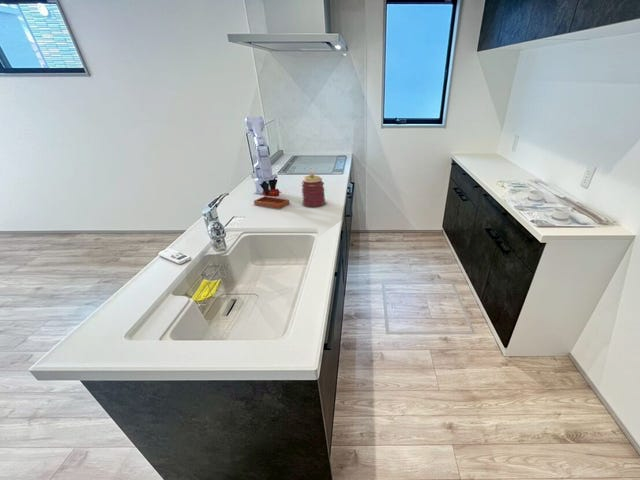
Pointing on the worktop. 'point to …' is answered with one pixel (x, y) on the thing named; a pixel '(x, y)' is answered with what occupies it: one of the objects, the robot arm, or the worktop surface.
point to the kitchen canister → (313, 191)
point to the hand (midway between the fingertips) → (270, 193)
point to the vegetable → (272, 193)
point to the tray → (271, 202)
